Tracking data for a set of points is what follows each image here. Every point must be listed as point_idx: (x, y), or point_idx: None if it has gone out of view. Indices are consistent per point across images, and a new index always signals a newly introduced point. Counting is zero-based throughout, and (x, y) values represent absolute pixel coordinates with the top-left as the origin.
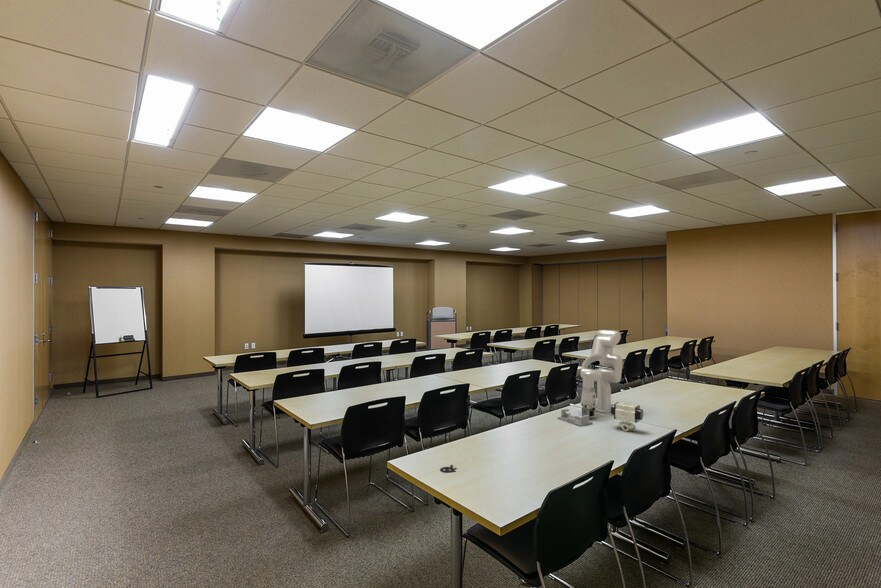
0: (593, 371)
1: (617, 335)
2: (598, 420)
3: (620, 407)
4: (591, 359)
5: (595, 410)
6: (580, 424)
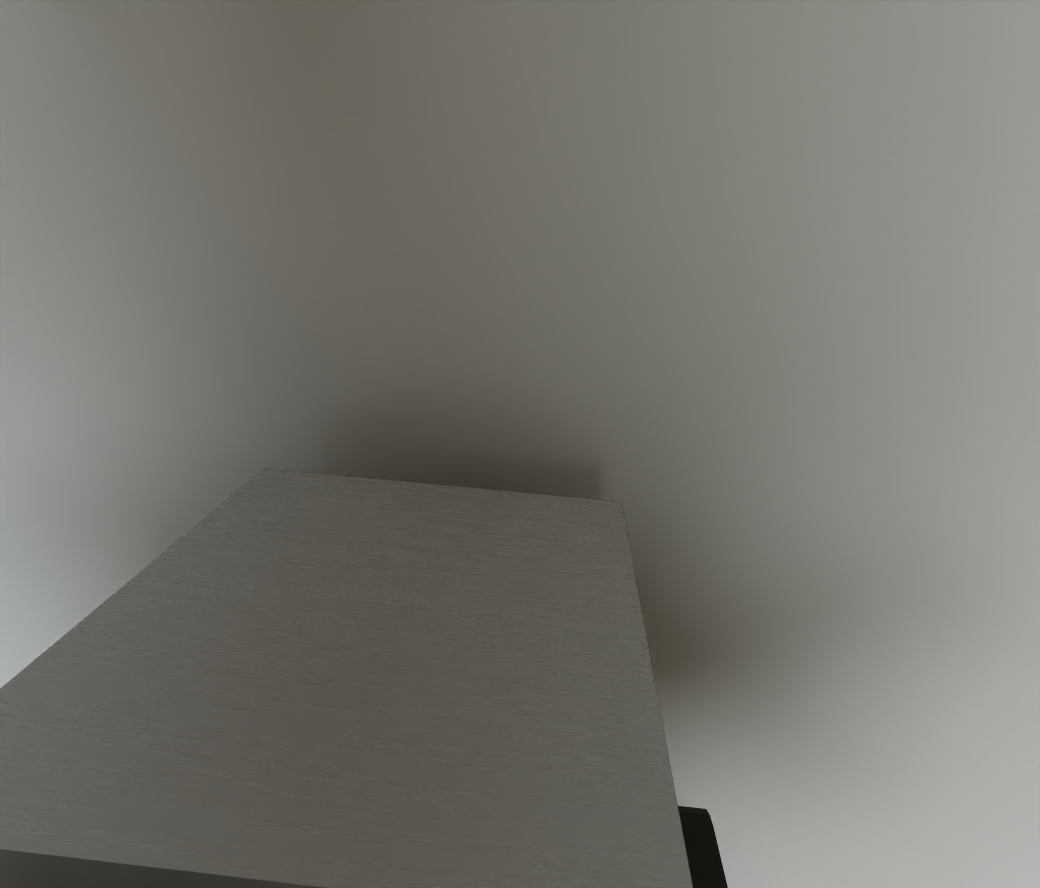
0: None
1: None
2: (841, 582)
3: None
4: None
5: (654, 701)
6: None
